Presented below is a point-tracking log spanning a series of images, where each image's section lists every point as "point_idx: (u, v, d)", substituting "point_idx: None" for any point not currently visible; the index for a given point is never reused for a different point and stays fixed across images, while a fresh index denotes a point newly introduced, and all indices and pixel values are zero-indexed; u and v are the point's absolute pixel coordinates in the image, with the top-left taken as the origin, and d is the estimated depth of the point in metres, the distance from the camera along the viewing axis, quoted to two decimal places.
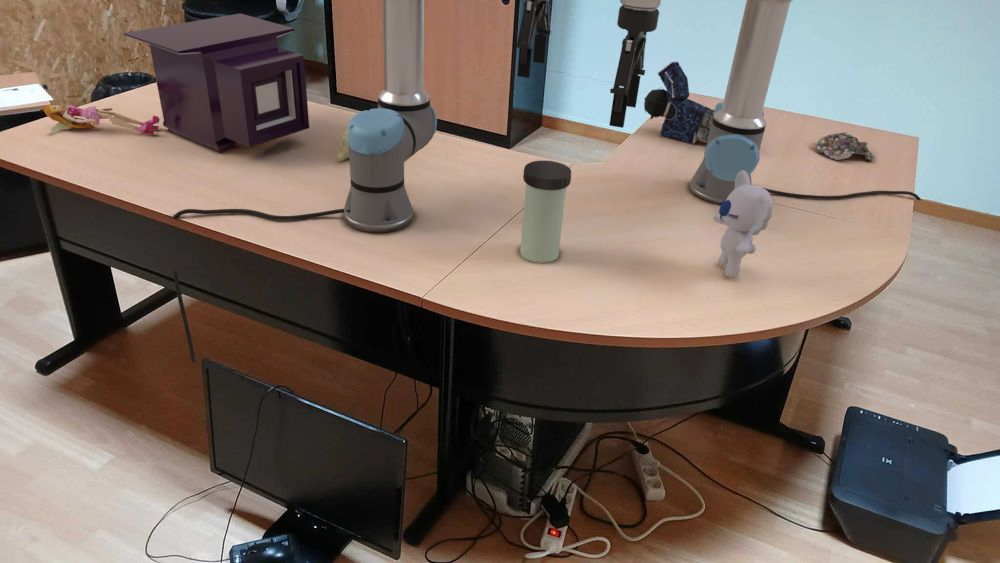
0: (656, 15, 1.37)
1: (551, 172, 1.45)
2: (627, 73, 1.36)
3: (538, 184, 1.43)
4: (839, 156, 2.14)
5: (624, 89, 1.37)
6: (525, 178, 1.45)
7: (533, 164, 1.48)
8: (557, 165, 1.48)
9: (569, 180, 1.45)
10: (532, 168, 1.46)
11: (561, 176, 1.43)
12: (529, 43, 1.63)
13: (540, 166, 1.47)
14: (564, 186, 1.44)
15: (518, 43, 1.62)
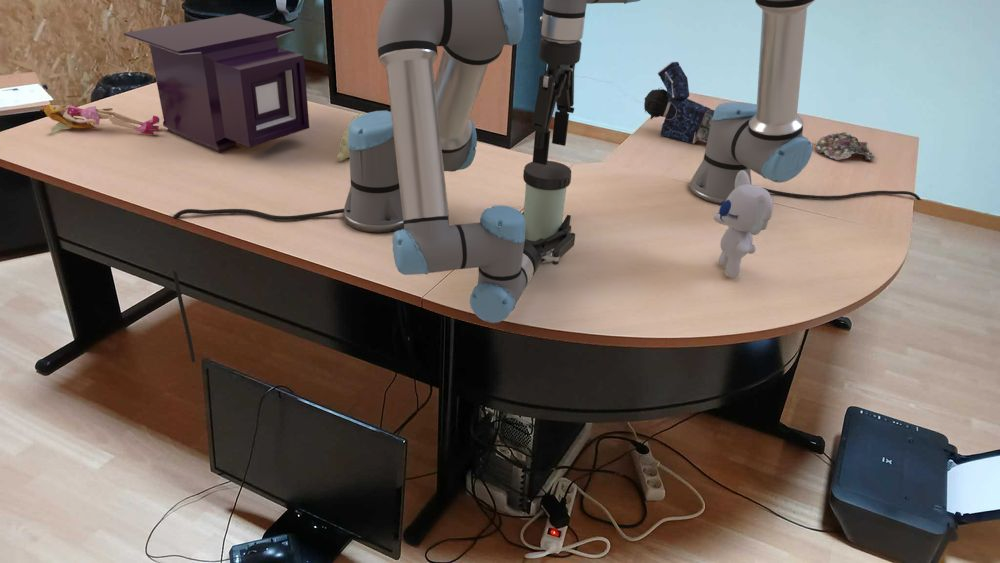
0: None
1: (551, 172, 1.45)
2: None
3: (538, 184, 1.43)
4: (839, 156, 2.14)
5: None
6: (525, 178, 1.45)
7: (533, 164, 1.48)
8: (557, 165, 1.48)
9: (569, 180, 1.45)
10: (532, 168, 1.46)
11: (561, 176, 1.43)
12: (546, 126, 1.34)
13: (540, 166, 1.47)
14: (564, 186, 1.44)
15: (533, 127, 1.33)
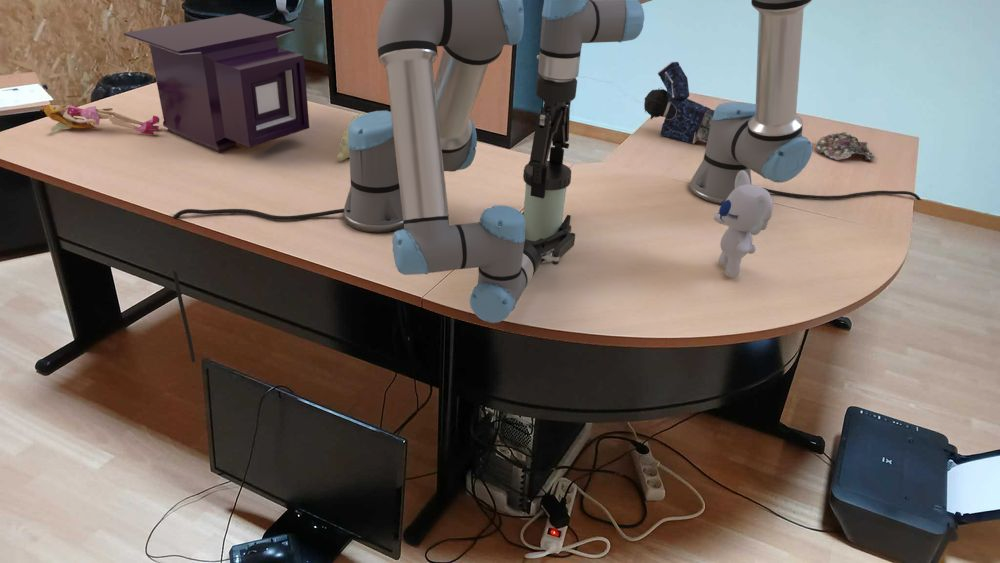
0: None
1: (551, 172, 1.45)
2: None
3: None
4: (839, 156, 2.14)
5: None
6: (525, 178, 1.45)
7: None
8: (557, 165, 1.48)
9: (569, 180, 1.45)
10: (532, 168, 1.46)
11: (561, 176, 1.43)
12: (544, 162, 1.38)
13: None
14: (564, 186, 1.44)
15: (530, 163, 1.37)
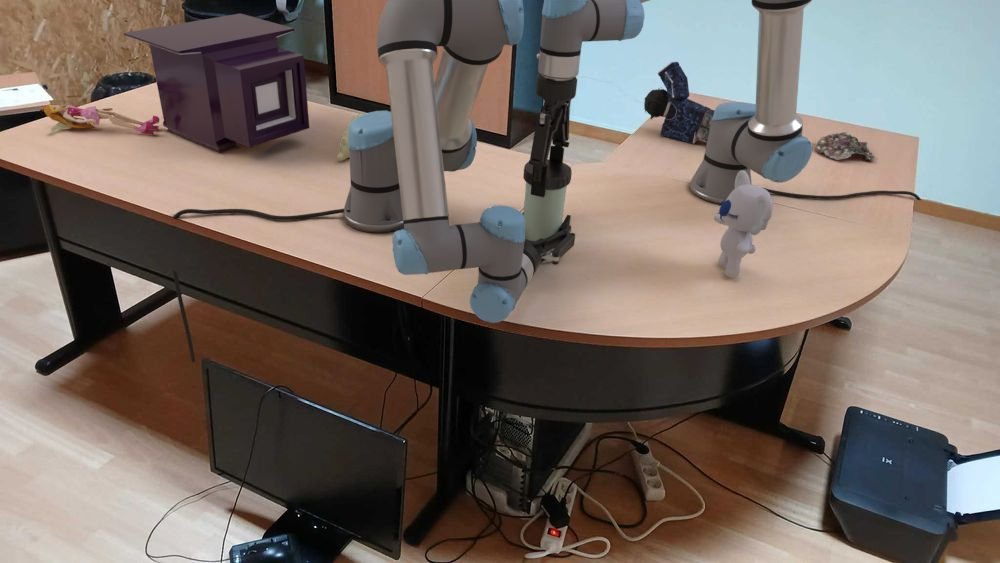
0: None
1: (554, 167, 1.46)
2: None
3: (568, 180, 1.45)
4: (839, 156, 2.14)
5: None
6: (556, 184, 1.43)
7: None
8: None
9: None
10: (547, 174, 1.43)
11: (562, 164, 1.48)
12: (544, 161, 1.38)
13: None
14: None
15: (531, 162, 1.37)
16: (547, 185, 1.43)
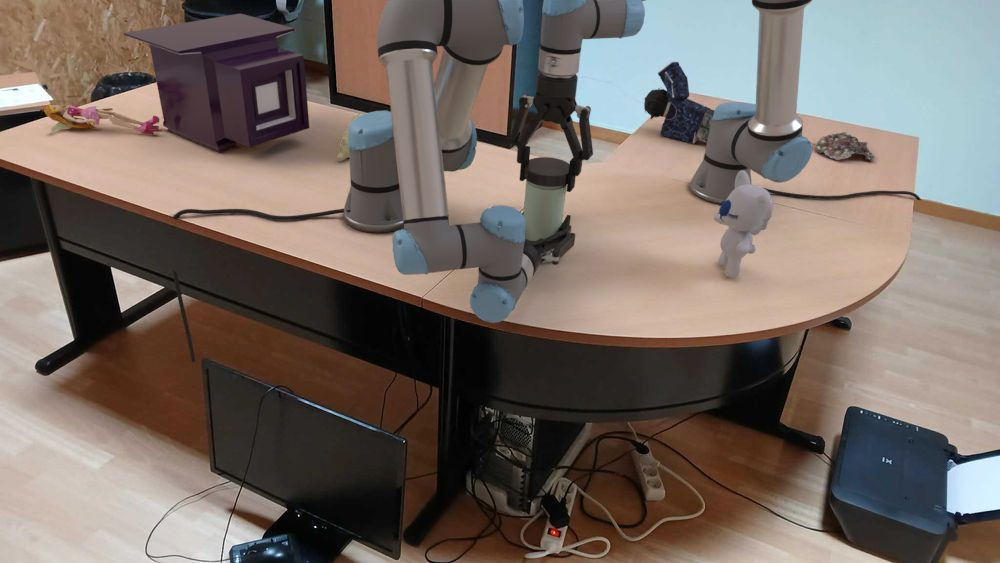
0: None
1: (545, 163, 1.47)
2: None
3: None
4: (839, 156, 2.14)
5: None
6: None
7: (562, 171, 1.44)
8: (538, 170, 1.44)
9: None
10: (564, 167, 1.45)
11: (536, 159, 1.48)
12: (582, 152, 1.42)
13: (555, 169, 1.44)
14: None
15: (589, 156, 1.40)
16: None
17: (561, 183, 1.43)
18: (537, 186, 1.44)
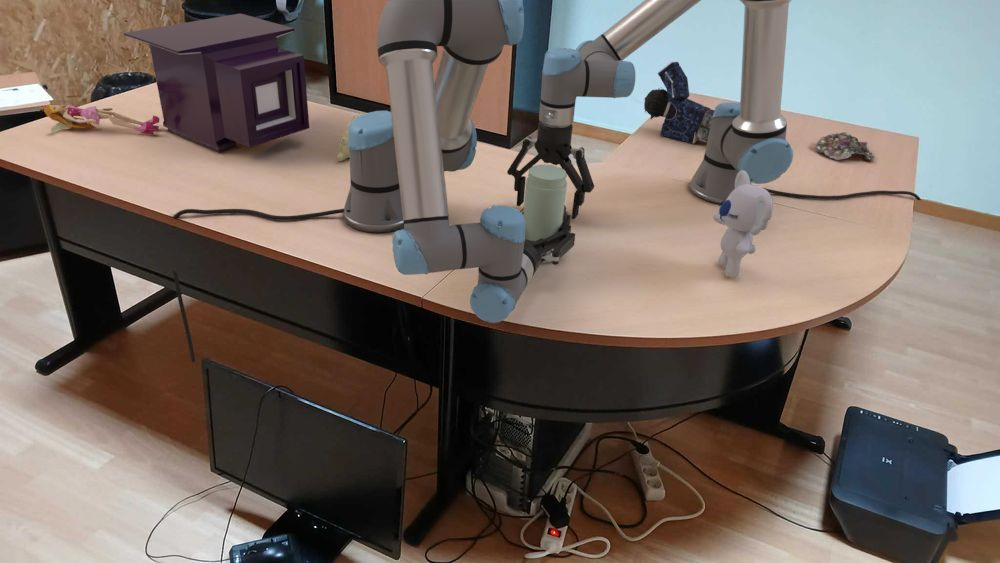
0: None
1: None
2: None
3: None
4: (839, 156, 2.14)
5: None
6: None
7: None
8: None
9: None
10: None
11: None
12: None
13: None
14: None
15: (591, 189, 1.62)
16: (565, 214, 1.71)
17: None
18: (537, 186, 1.44)
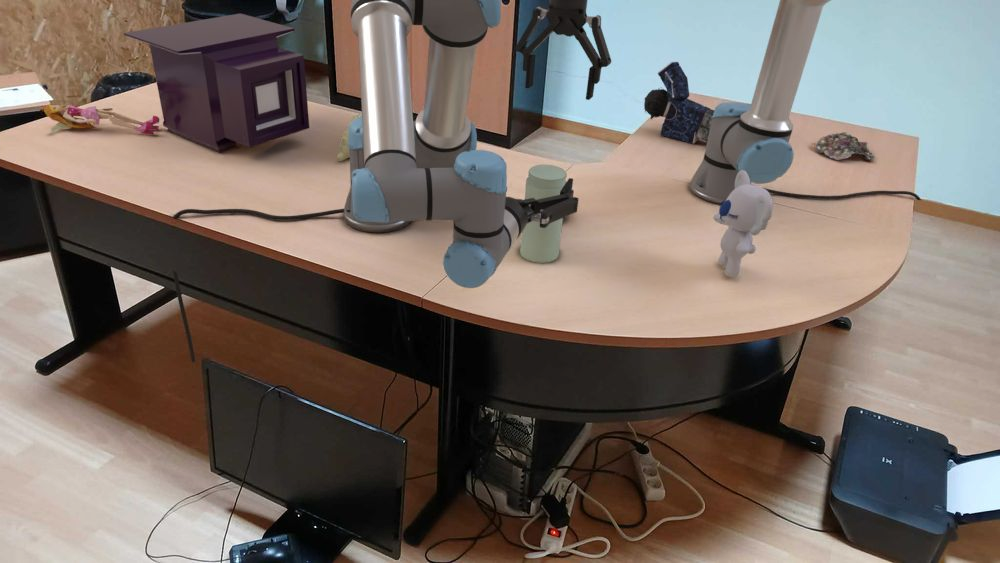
0: None
1: None
2: None
3: None
4: (839, 156, 2.14)
5: None
6: None
7: None
8: None
9: None
10: None
11: None
12: (601, 59, 1.50)
13: None
14: None
15: (608, 62, 1.48)
16: None
17: None
18: (537, 186, 1.44)
